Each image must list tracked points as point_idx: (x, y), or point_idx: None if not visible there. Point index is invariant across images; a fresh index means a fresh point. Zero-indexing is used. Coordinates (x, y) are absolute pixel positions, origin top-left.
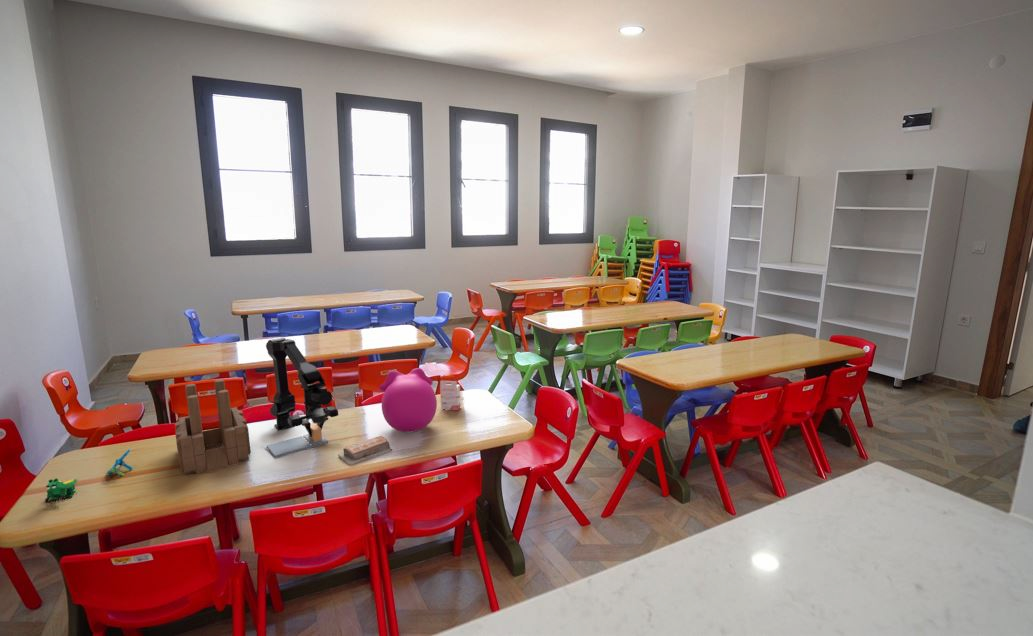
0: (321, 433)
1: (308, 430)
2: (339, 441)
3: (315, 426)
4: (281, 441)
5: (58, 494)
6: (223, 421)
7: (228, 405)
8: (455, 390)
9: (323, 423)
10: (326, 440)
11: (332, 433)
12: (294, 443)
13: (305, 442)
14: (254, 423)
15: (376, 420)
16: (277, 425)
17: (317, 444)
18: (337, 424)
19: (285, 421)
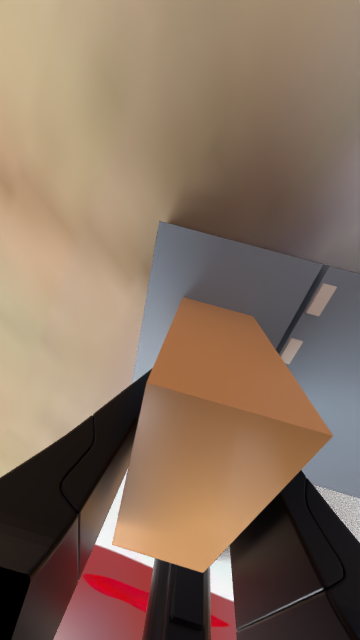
0: (172, 324)
1: (313, 489)
2: (71, 158)
3: (170, 499)
4: (350, 493)
5: None
6: None
7: None
8: None
9: (5, 483)
10: (167, 239)
11: (61, 354)
12: (353, 420)
13: (299, 370)
14: (226, 597)
15: None
16: (209, 571)
17: (270, 252)
18: (2, 417)
19: (192, 594)
